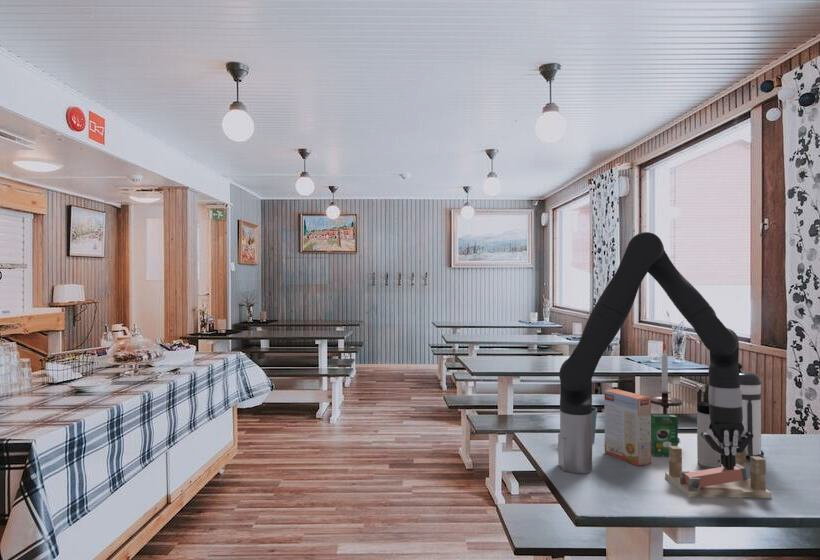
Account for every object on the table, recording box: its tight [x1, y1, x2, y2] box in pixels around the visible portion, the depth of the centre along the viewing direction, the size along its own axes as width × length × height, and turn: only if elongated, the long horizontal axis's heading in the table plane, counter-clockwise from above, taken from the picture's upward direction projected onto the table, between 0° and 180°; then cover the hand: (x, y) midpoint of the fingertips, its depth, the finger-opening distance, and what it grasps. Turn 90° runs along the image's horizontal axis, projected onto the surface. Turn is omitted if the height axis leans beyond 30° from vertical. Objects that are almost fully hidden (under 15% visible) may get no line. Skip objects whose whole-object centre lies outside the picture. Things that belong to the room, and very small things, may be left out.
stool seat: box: [664, 446, 772, 499], centre depth 134 cm, size 21×14×10 cm, turn 88°
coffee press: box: [738, 362, 765, 463], centre depth 160 cm, size 17×16×30 cm
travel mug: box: [696, 400, 723, 470], centre depth 149 cm, size 6×7×20 cm
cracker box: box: [604, 388, 652, 467], centre depth 157 cm, size 14×6×21 cm, turn 22°
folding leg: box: [684, 464, 748, 487], centre depth 130 cm, size 3×3×14 cm
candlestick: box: [650, 341, 683, 444], centre depth 175 cm, size 11×11×35 cm
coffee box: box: [651, 413, 679, 457], centre depth 159 cm, size 8×3×13 cm, turn 91°
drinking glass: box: [592, 405, 598, 444], centre depth 174 cm, size 10×10×12 cm
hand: (728, 468), depth 130 cm, fingers closed
